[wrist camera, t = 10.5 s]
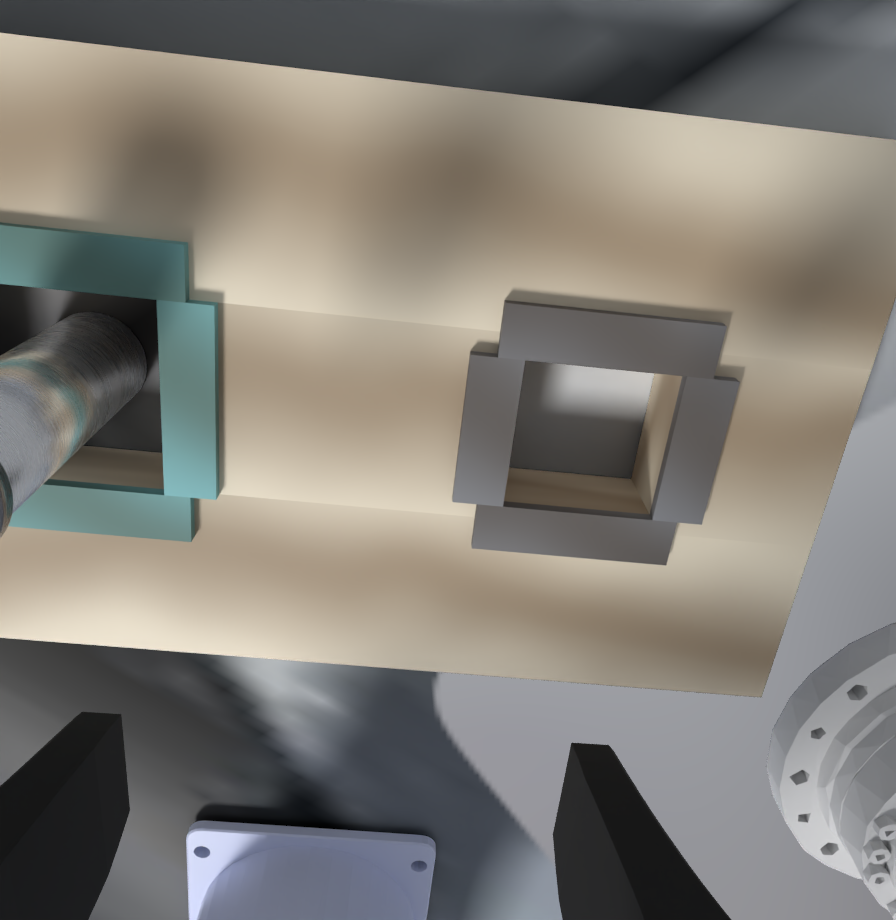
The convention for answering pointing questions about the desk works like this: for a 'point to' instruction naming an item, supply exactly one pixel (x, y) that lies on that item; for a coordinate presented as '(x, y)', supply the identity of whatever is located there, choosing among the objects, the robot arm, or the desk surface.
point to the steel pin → (61, 398)
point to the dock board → (437, 366)
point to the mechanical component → (843, 763)
